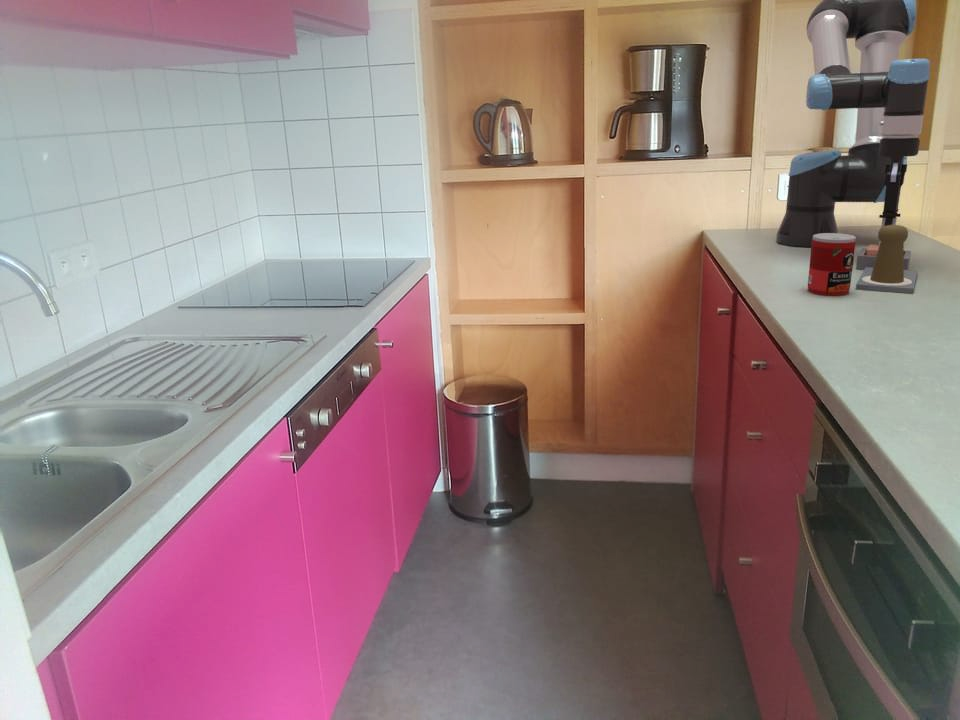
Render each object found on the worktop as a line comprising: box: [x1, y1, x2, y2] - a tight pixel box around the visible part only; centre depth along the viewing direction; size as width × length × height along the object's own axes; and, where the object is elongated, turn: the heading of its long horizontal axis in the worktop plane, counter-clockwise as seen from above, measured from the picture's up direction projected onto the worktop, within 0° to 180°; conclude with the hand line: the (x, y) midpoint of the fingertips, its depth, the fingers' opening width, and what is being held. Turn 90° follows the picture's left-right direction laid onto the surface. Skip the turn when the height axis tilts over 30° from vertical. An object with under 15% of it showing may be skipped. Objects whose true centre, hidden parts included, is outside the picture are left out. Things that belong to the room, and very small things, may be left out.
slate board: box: [855, 267, 919, 294], centre depth 157 cm, size 18×10×1 cm, turn 149°
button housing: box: [855, 247, 912, 271], centre depth 171 cm, size 10×10×3 cm
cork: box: [870, 224, 909, 284], centre depth 152 cm, size 6×6×11 cm
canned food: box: [807, 232, 857, 297], centre depth 150 cm, size 8×8×11 cm
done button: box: [866, 244, 879, 256], centre depth 170 cm, size 7×7×3 cm
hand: (885, 247), depth 170 cm, fingers closed
